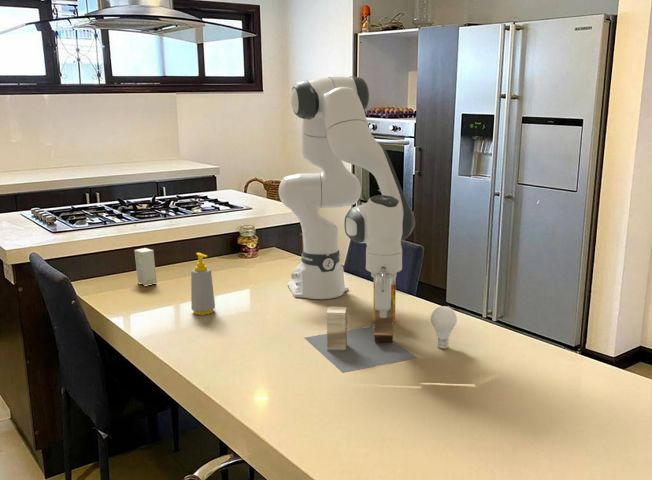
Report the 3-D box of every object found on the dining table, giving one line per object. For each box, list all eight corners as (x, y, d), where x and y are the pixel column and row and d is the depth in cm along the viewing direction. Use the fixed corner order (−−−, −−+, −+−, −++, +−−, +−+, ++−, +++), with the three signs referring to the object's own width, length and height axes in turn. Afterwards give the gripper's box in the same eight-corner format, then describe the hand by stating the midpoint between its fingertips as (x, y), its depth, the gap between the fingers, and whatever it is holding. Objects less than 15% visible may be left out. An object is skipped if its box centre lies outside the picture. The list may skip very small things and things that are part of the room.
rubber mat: (304, 339, 165) (303, 337, 165) (371, 327, 173) (371, 326, 173) (342, 374, 144) (342, 372, 144) (418, 359, 151) (418, 357, 151)
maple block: (345, 351, 156) (345, 312, 154) (327, 350, 156) (326, 312, 154) (346, 344, 160) (346, 307, 158) (329, 344, 161) (328, 306, 158)
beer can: (394, 327, 173) (394, 274, 170) (372, 325, 174) (372, 273, 171) (396, 319, 179) (396, 268, 176) (374, 318, 180) (375, 267, 177)
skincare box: (157, 284, 216) (154, 250, 214) (145, 287, 213) (142, 252, 211) (148, 281, 221) (146, 247, 218) (136, 283, 218) (133, 249, 215)
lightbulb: (439, 342, 162) (440, 301, 160) (460, 348, 158) (462, 306, 155) (424, 348, 158) (425, 306, 155) (446, 355, 153) (447, 312, 151)
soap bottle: (199, 317, 183) (195, 257, 179) (187, 312, 188) (183, 253, 184) (219, 312, 187) (216, 253, 183) (207, 306, 192) (204, 249, 188)
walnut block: (392, 335, 157) (393, 299, 162) (374, 334, 157) (375, 299, 163) (392, 342, 161) (393, 307, 166) (374, 342, 161) (375, 307, 167)
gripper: (396, 274, 144) (395, 331, 147) (396, 252, 164) (396, 303, 167) (369, 273, 145) (368, 330, 148) (372, 252, 165) (372, 302, 168)
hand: (383, 315), depth 158 cm, fingers closed
